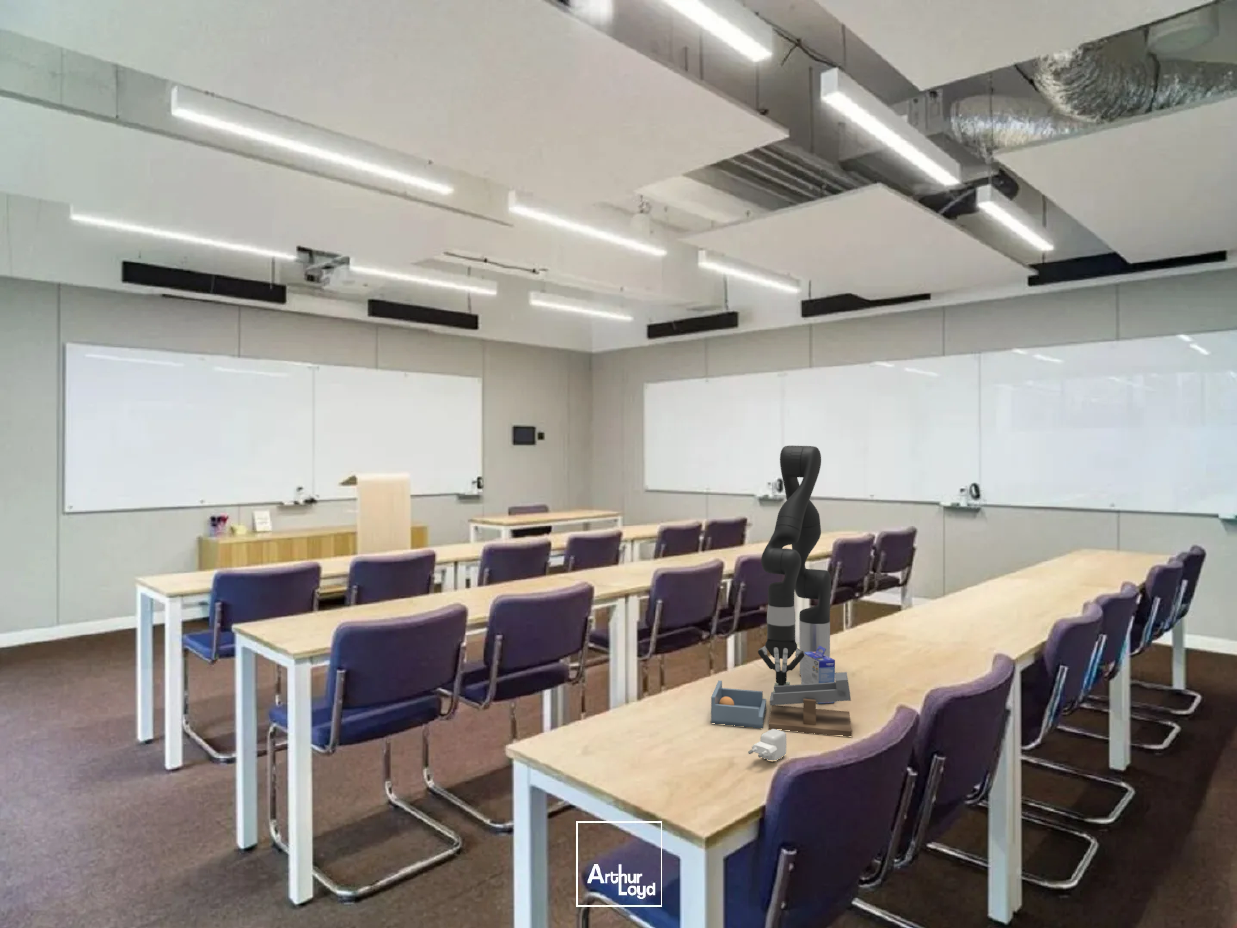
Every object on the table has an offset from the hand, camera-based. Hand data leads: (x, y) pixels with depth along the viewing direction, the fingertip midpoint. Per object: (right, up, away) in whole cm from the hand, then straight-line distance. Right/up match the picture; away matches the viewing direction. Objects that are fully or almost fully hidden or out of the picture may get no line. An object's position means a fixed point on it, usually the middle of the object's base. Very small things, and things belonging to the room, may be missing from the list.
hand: (781, 684), depth 196 cm
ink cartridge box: (+12, -7, +8) cm, 16 cm away
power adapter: (-11, -8, -33) cm, 36 cm away
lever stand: (+5, -7, -11) cm, 13 cm away
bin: (-12, -7, -6) cm, 15 cm away
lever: (+6, -1, -7) cm, 9 cm away
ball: (-16, -4, -5) cm, 17 cm away
